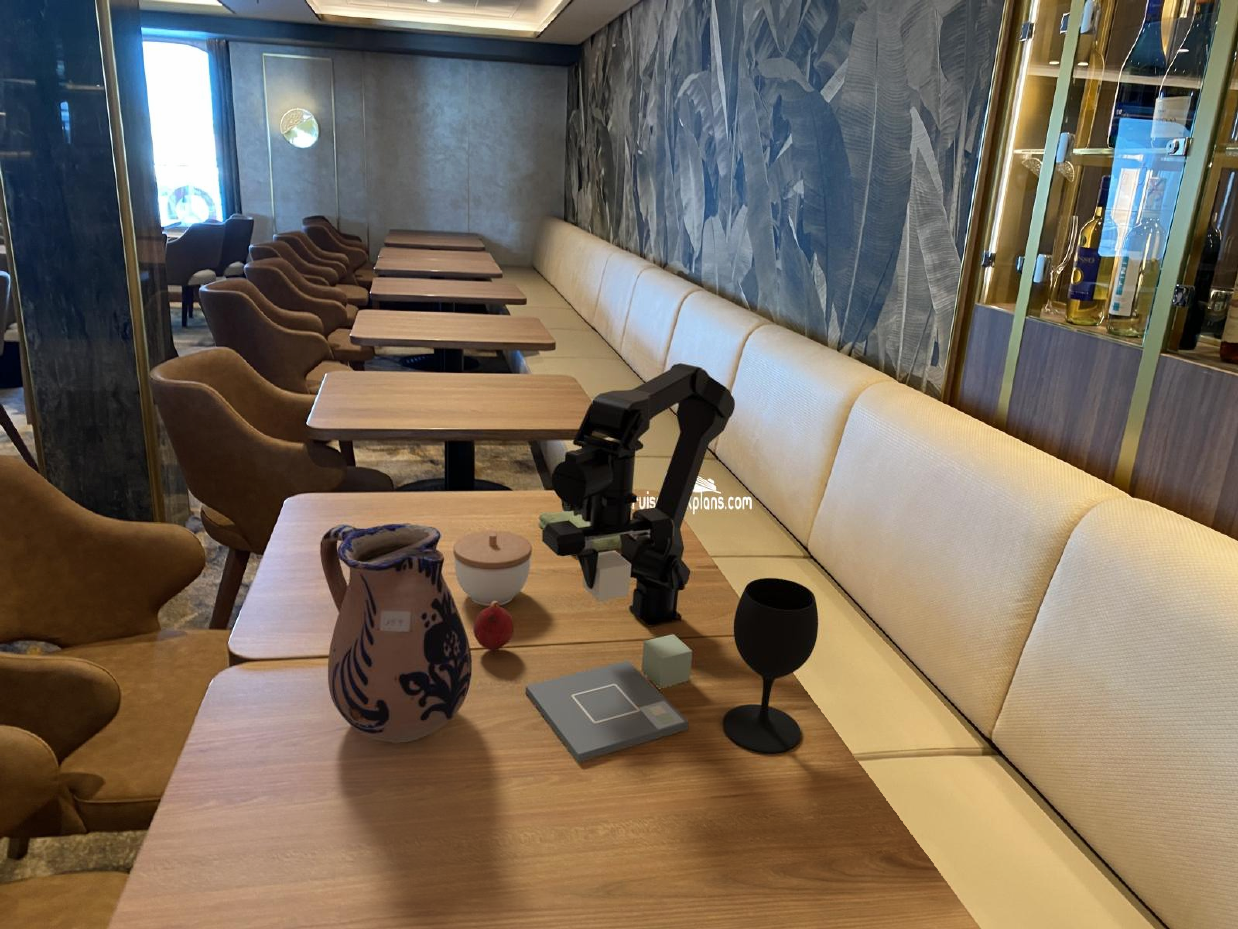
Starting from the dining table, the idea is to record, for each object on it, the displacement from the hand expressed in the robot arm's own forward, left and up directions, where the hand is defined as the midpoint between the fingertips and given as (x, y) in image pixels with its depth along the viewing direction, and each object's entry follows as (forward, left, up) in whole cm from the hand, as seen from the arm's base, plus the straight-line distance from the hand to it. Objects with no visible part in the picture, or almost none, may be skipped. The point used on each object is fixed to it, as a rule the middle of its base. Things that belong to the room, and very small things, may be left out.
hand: (606, 584), depth 128 cm
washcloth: (-16, -39, -12) cm, 44 cm away
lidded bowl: (+9, -22, -11) cm, 27 cm away
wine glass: (-10, +26, -11) cm, 30 cm away
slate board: (+7, +14, -11) cm, 19 cm away
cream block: (0, 0, -1) cm, 1 cm away
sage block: (-5, +10, -11) cm, 16 cm away
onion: (+15, -6, -11) cm, 20 cm away
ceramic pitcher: (+33, +4, -11) cm, 35 cm away
